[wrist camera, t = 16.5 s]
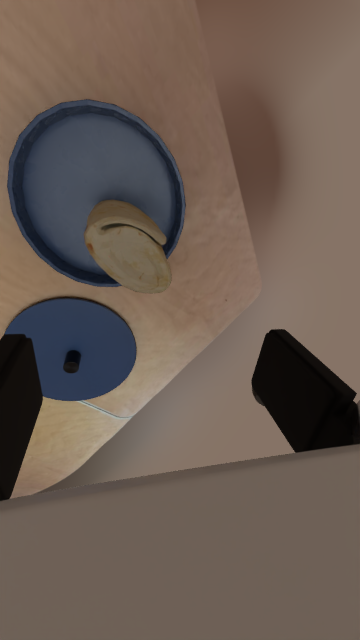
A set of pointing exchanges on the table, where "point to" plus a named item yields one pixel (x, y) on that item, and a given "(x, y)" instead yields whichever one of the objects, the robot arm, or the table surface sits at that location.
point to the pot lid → (77, 347)
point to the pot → (89, 181)
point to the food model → (128, 246)
